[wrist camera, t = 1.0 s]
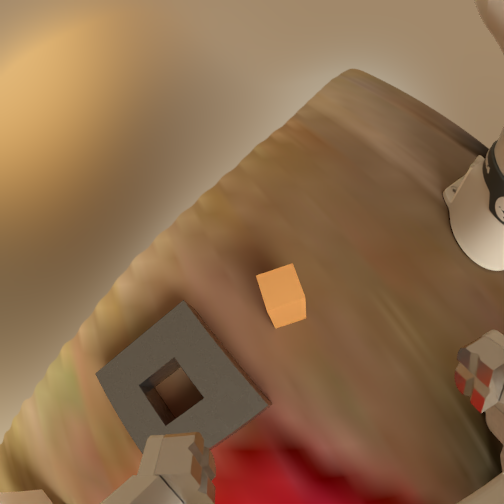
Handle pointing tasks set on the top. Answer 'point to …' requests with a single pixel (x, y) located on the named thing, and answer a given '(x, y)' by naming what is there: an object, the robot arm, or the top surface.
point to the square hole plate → (198, 370)
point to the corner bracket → (25, 497)
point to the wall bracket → (497, 425)
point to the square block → (282, 295)
